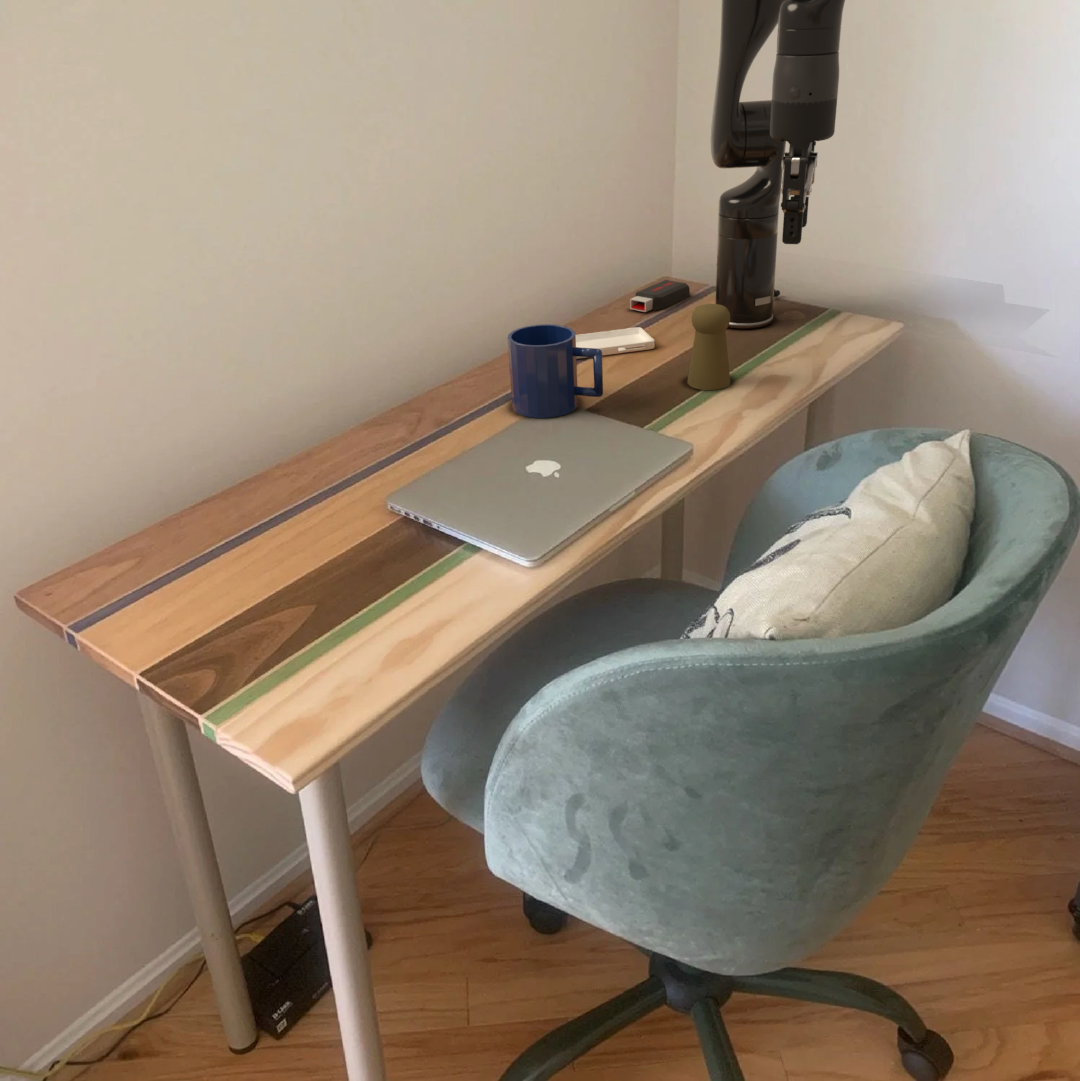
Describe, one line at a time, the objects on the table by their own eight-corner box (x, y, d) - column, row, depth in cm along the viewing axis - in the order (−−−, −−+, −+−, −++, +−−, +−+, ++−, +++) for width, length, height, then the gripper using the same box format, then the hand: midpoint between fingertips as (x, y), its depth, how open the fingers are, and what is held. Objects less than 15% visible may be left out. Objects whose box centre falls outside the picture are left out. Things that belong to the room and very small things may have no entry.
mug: (502, 415, 140) (497, 343, 135) (525, 390, 147) (521, 322, 142) (593, 423, 136) (591, 350, 131) (612, 397, 143) (611, 327, 138)
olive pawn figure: (729, 374, 149) (732, 299, 143) (731, 389, 144) (735, 312, 138) (686, 374, 149) (688, 299, 144) (687, 390, 144) (689, 313, 139)
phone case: (640, 334, 166) (549, 346, 163) (640, 326, 165) (549, 337, 162) (655, 349, 160) (561, 361, 157) (655, 340, 159) (561, 352, 156)
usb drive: (689, 296, 182) (690, 280, 181) (650, 314, 174) (650, 298, 173) (665, 291, 185) (665, 276, 184) (625, 309, 177) (625, 293, 176)
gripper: (834, 103, 115) (821, 250, 123) (840, 86, 126) (829, 221, 134) (765, 104, 117) (757, 248, 125) (778, 87, 128) (770, 220, 136)
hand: (794, 234), depth 130 cm, fingers open, 8 cm apart
